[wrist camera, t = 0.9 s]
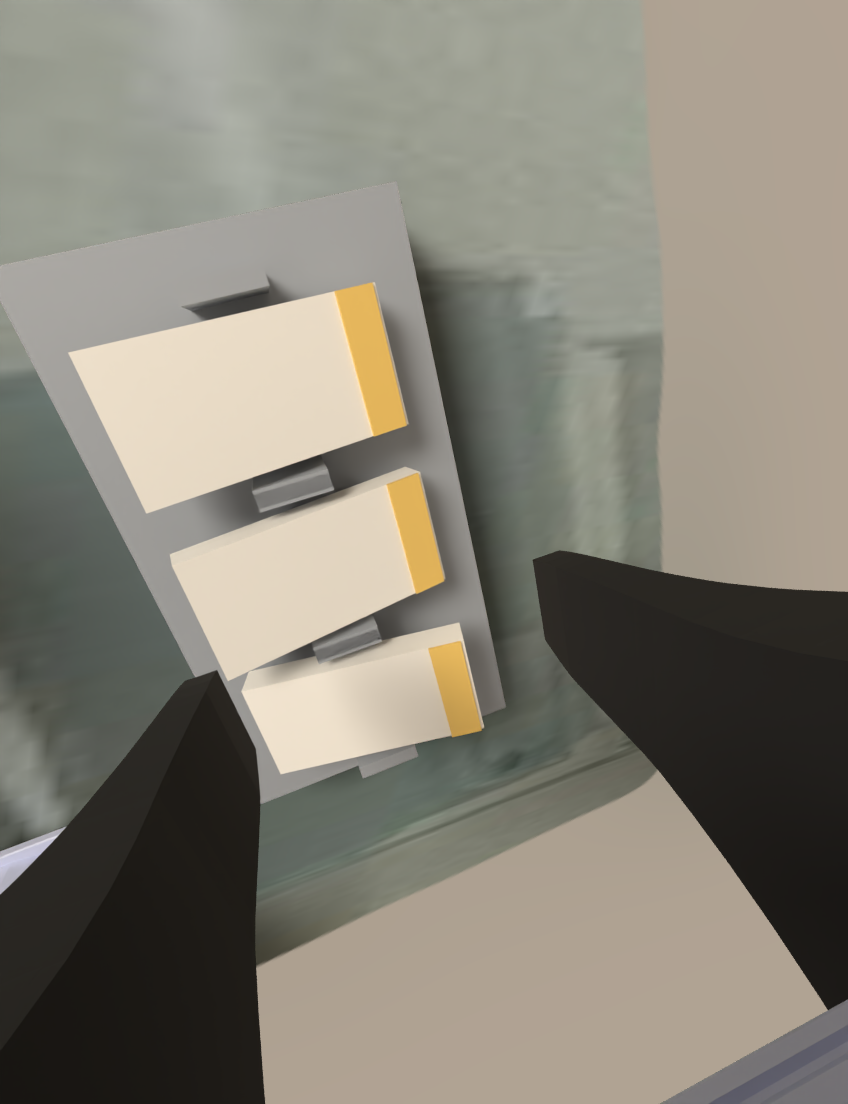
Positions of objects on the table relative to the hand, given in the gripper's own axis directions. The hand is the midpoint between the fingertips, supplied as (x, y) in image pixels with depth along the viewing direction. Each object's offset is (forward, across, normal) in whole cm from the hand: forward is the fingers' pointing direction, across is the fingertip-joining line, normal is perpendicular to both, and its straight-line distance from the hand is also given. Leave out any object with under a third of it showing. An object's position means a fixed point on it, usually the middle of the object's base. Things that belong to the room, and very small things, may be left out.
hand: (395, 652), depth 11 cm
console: (+10, +1, 0) cm, 10 cm away
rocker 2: (+5, +1, 0) cm, 5 cm away
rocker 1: (+5, +1, -5) cm, 7 cm away
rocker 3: (+5, +1, +5) cm, 7 cm away
